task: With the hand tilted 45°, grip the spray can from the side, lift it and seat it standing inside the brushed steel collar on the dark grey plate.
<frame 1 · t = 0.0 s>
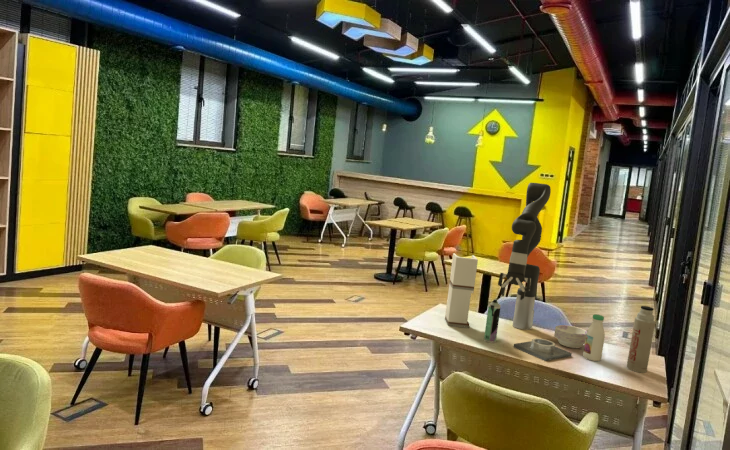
hand: (511, 297, 253), 22 cm above the table, tool pointing down, fingers open, 8 cm apart
thermos bottle: (636, 369, 241), on the table
collar plate: (542, 351, 251), on the table
milk bottle: (591, 358, 249), on the table
banded white pillar: (456, 323, 282), on the table
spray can: (489, 341, 259), on the table
paper bowls: (569, 345, 266), on the table
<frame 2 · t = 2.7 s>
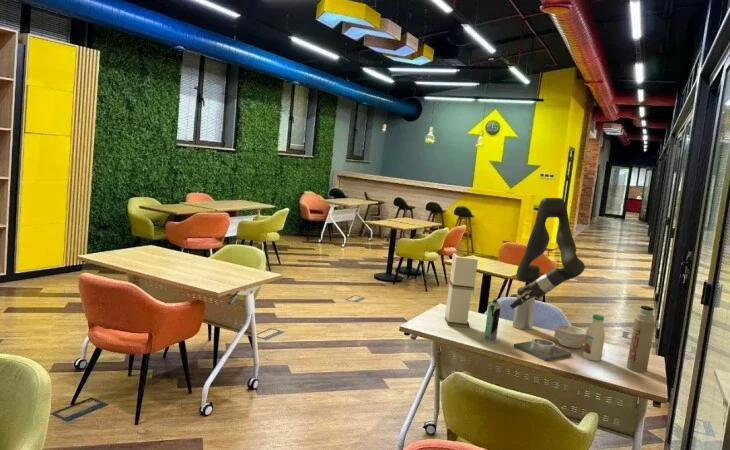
hand: (513, 305, 253), 19 cm above the table, tool tilted 45°, fingers open, 8 cm apart
nothing on the table moved.
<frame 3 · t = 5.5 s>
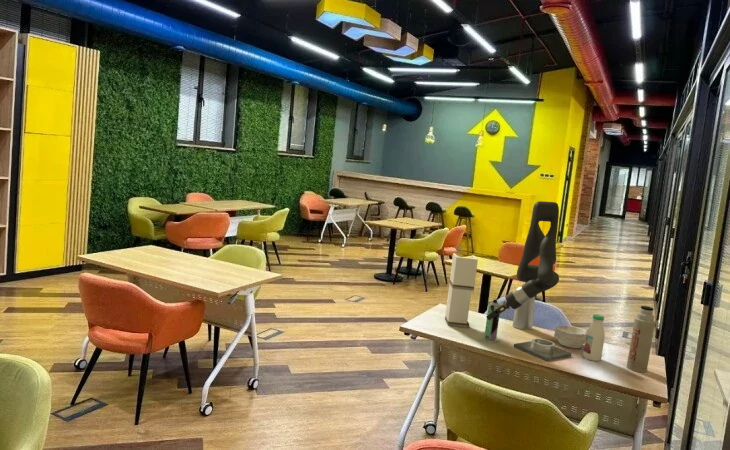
hand: (489, 316, 258), 11 cm above the table, tool tilted 45°, fingers closed on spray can, 5 cm apart
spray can: (489, 341, 259), on the table, touching gripper
everything else where it was.
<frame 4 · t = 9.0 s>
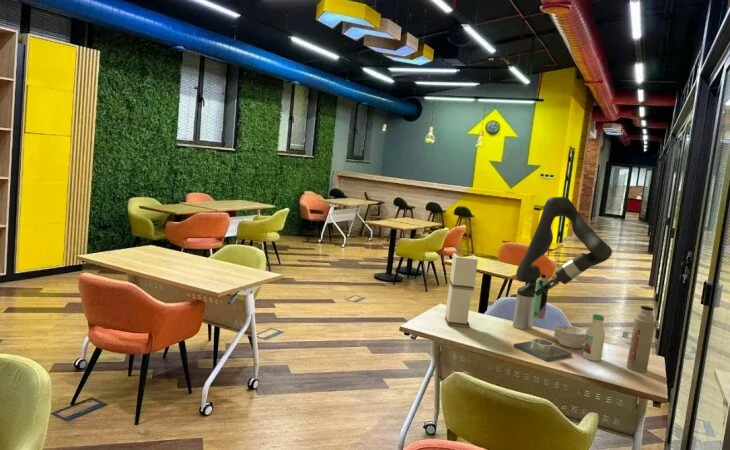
hand: (537, 292, 250), 26 cm above the table, tool tilted 45°, fingers closed on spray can, 5 cm apart
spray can: (537, 318, 250), point 15 cm above the table, touching gripper
everything else where it was.
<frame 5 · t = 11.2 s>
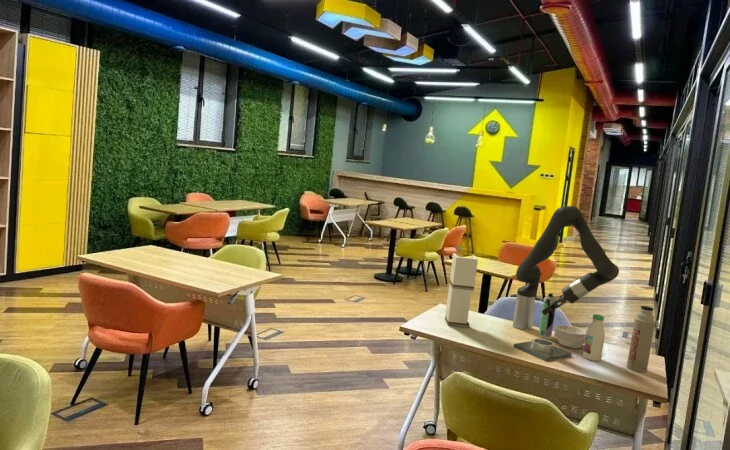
hand: (544, 311, 250), 18 cm above the table, tool tilted 45°, fingers closed on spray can, 5 cm apart
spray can: (544, 336, 250), point 7 cm above the table, touching gripper
everything else where it was.
when the fingers open (14 cm above the table, at t = 12.8 s): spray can drops 1 cm, resting on collar plate.
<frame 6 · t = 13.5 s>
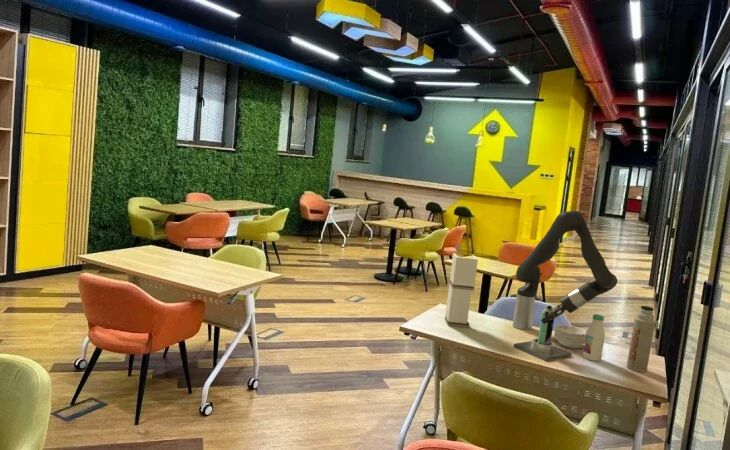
hand: (543, 319, 250), 15 cm above the table, tool tilted 45°, fingers open, 8 cm apart
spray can: (542, 348, 251), point 1 cm above the table, touching collar plate
everything else where it was.
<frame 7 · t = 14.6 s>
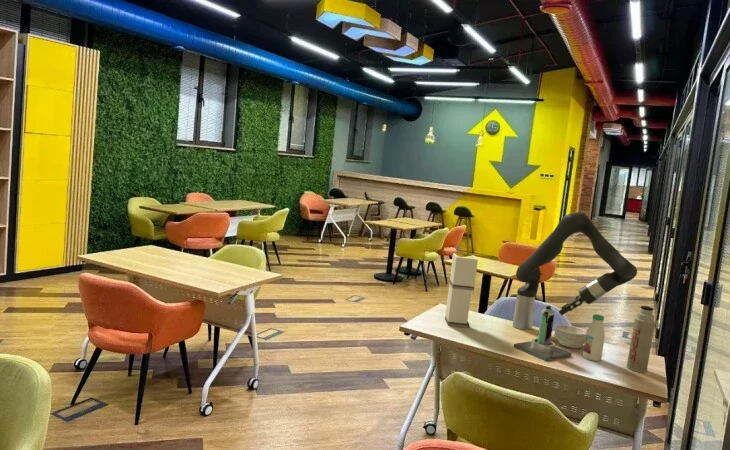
hand: (561, 311, 246), 20 cm above the table, tool tilted 45°, fingers open, 8 cm apart
nothing on the table moved.
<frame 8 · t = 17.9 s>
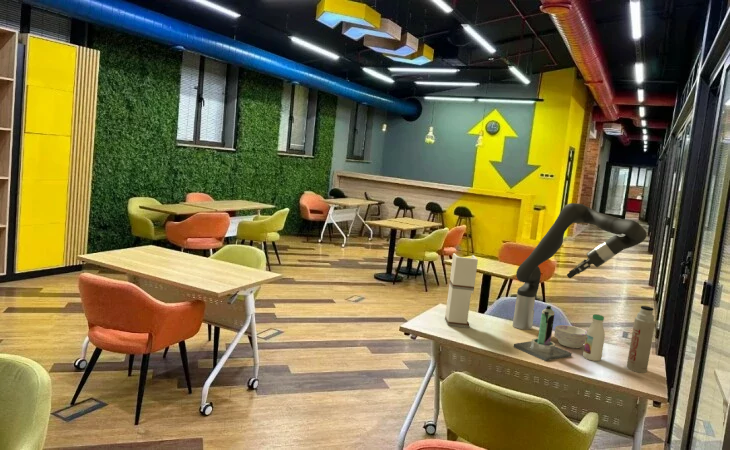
hand: (569, 275, 245), 37 cm above the table, tool tilted 45°, fingers open, 8 cm apart
nothing on the table moved.
at the end: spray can 0.2 cm off-centre on the collar plate, point 1.3 cm above the collar plate's base; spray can tilted 0°; the gripper is holding nothing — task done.
